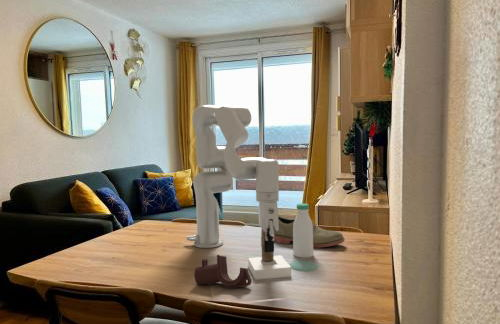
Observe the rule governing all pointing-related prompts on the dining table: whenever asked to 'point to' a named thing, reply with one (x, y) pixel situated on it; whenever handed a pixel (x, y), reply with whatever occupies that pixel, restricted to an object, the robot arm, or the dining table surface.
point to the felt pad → (303, 266)
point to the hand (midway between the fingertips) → (267, 249)
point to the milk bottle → (303, 233)
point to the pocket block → (269, 268)
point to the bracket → (220, 274)
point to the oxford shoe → (319, 235)
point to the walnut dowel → (266, 255)
